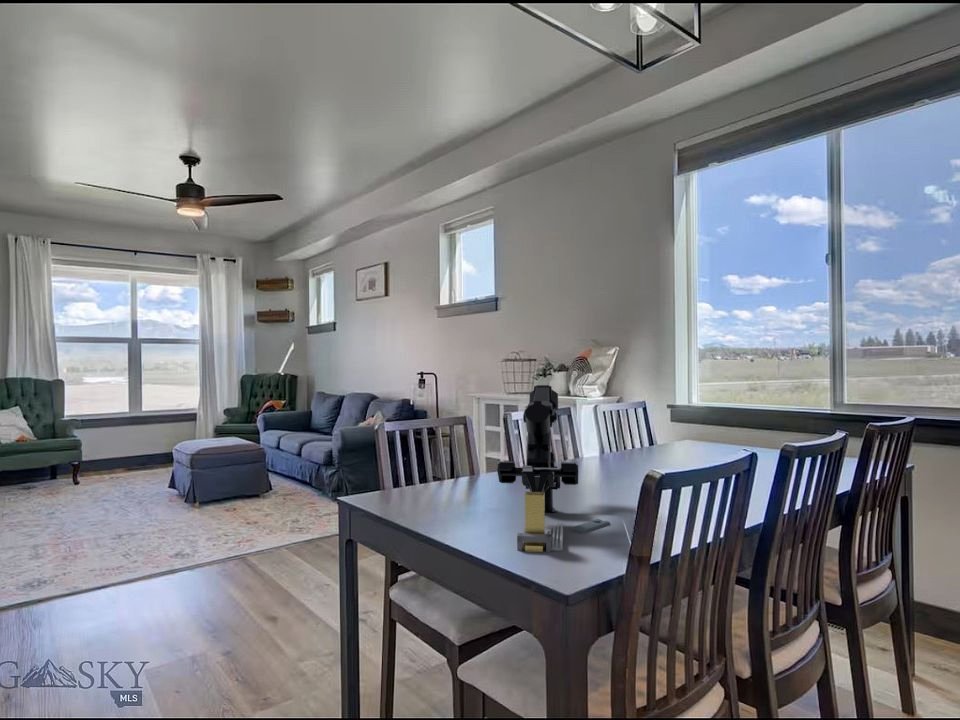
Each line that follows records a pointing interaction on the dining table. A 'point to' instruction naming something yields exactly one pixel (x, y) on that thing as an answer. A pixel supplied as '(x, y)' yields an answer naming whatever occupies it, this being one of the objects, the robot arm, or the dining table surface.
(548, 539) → the socket board
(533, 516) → the yellow rectangular block
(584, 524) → the dark grey flat block
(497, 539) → the dining table surface
